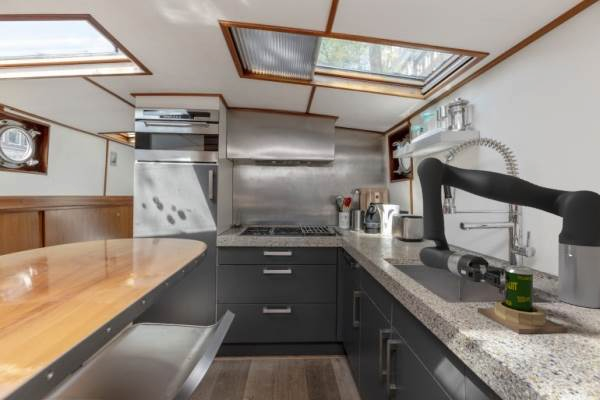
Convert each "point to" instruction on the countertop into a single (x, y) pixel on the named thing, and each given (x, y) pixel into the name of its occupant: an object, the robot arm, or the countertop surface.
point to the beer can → (519, 288)
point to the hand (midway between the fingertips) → (514, 280)
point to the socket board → (523, 327)
